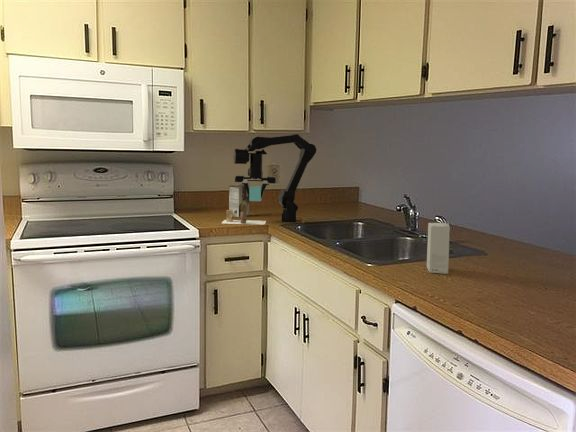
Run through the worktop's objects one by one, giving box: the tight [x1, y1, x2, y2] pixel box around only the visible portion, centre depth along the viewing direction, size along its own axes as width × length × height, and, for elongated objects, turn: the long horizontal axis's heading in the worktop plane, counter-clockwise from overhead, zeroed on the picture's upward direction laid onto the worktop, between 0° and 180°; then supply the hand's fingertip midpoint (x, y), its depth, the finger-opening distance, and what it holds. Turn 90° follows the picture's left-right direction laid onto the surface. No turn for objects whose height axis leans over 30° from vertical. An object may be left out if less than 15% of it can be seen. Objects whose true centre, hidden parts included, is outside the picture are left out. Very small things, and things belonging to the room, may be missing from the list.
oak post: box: [225, 209, 234, 222], centre depth 236 cm, size 3×3×6 cm
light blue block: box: [249, 185, 263, 202], centre depth 233 cm, size 5×5×7 cm
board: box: [221, 219, 267, 226], centre depth 235 cm, size 20×10×1 cm, turn 88°
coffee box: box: [228, 183, 250, 218], centre depth 253 cm, size 9×6×16 cm
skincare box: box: [426, 222, 451, 275], centre depth 157 cm, size 8×6×15 cm
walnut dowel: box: [240, 212, 247, 225], centre depth 231 cm, size 3×3×6 cm
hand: (255, 197), depth 234 cm, fingers closed on light blue block, 5 cm apart
